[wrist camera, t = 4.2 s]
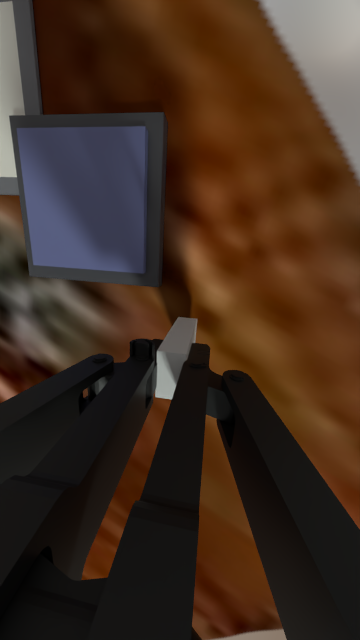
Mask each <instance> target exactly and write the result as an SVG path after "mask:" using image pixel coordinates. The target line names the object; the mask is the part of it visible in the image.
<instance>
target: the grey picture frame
mask: <svg viewBox="0 0 360 640" xmlns="http://www.w3.org/2000/svg"><path fill="white" fill-rule="evenodd" d="M12 115H43V110H42V100H41V89H40V78H39V68H38V57H37V46H36V36H35V25H34V15H33V4H32V0H0V195H19V189H18V181H17V174H16V166H15V158H14V150H13V143H12V135H11V127H10V120H9V116H12Z"/></svg>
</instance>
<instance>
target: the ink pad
mask: <svg viewBox="0 0 360 640" xmlns="http://www.w3.org/2000/svg"><path fill="white" fill-rule="evenodd" d="M9 120H10V127H11V135H12V143H13V150H14V158H15V166H16V174H17V181H18V189H19V197H20V204H21V212H22V220H23V227H24V235H25V243H26V250H27V258H28V266H29V274H30V276H34V277H45V278H57V279H69V280H80V281H92V282H104V283H116V284H127V285H139V286H151V287H159V286H161V285H162V264H163V237H164V211H165V184H166V157H167V131H168V122H167V120H166V117H165V114H164V112H150V113H104V114H58V115H12V116H9Z"/></svg>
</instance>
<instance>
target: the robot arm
mask: <svg viewBox="0 0 360 640" xmlns="http://www.w3.org/2000/svg"><path fill="white" fill-rule="evenodd" d="M196 327H197V319H194V318H184V317H178V318H177V320H176V321H175V323H174V324H173V326H172V328H171V329H170V331H169V332H168V334H167V336H166V337H165V339H164V340H160V339H153V340H149V339H136V340H132V341H131V342H130V357H129V358H128V359H127V361H126V362H122V363H114V358H113V357H112V356H111V355H108V354H97V355H93V356H90V357H88V358H86V359H85V360H83V361H81V362H79V363H77V364H75V365H73V366H71V367H69V368H67V369H65V370H64V371H62V372H60V373H58V374H56V375H54V376H52V377H50V378H48V379H46V380H44V381H43V382H41V383H39V384H37V385H35V386H33V387H31V388H29V389H27V390H25V391H23V392H21V393H20V394H18V395H16V396H14V397H12V398H10V399H8V400H6V401H4V402H2V403H0V640H202V639H201V638H200V637H199V635H198V634H197V633H196V631H195V630H194V629H193V627H192V616H193V601H194V587H195V572H196V557H197V543H198V528H199V501H200V487H201V473H202V459H203V445H204V431H205V418H206V414H207V415H209V416H212V417H214V418H217V426H218V429H219V432H220V435H221V438H222V441H223V444H224V447H225V450H226V453H227V457H228V460H229V463H230V466H231V469H232V472H233V475H234V478H235V481H236V484H237V487H238V490H239V494H240V497H241V500H242V503H243V506H244V509H245V512H246V515H247V518H248V521H249V524H250V527H251V531H252V534H253V537H254V540H255V543H256V546H257V549H258V552H259V555H260V558H261V561H262V564H263V568H264V571H265V574H266V577H267V580H268V583H269V586H270V589H271V592H272V595H273V598H274V601H275V605H276V608H277V611H278V614H279V617H280V620H281V623H282V626H283V629H284V632H285V635H286V638H287V640H360V530H359V528H358V527H357V525H356V524H355V523H354V521H353V520H352V518H351V517H350V516H349V514H348V513H347V511H346V510H345V509H344V507H343V506H342V504H341V503H340V502H339V500H338V499H337V497H336V496H335V495H334V493H333V492H332V490H331V489H330V488H329V486H328V485H327V483H326V482H325V481H324V479H323V478H322V476H321V475H320V474H319V472H318V471H317V469H316V468H315V467H314V465H313V464H312V462H311V461H310V460H309V458H308V457H307V455H306V454H305V453H304V451H303V450H302V448H301V447H300V446H299V444H298V443H297V441H296V440H295V439H294V437H293V436H292V434H291V433H290V432H289V430H288V429H287V427H286V426H285V425H284V423H283V422H282V420H281V419H280V418H279V416H278V415H277V413H276V412H275V411H274V409H273V408H272V406H271V405H270V404H269V402H268V401H267V399H266V398H265V397H264V395H263V394H262V393H261V391H260V390H259V388H258V387H257V386H256V384H255V383H254V381H253V380H252V379H251V377H250V376H249V375H248V374H246V373H244V372H242V371H239V370H228V371H225V372H224V373H223V376H221V375H218V374H216V373H214V372H212V371H211V370H210V368H209V357H210V347H209V346H208V345H207V344H199V343H195V338H196ZM87 387H88V396H87V397H85V398H83V390H84V389H86V388H87ZM155 389H156V394H155V397H159V398H165V399H172V401H171V404H170V407H169V410H168V413H167V416H166V420H165V423H164V426H163V429H162V432H161V435H160V439H159V442H158V445H157V448H156V451H155V455H154V458H153V461H152V464H151V467H150V470H149V474H148V477H147V480H146V483H145V486H144V489H143V493H142V495H141V498H140V500H139V501H135V503H134V505H133V506H132V509H131V511H130V514H129V517H128V520H127V523H126V526H125V528H124V531H123V534H122V537H121V540H120V543H119V546H118V549H117V552H116V555H115V558H114V561H113V564H112V567H111V570H110V573H109V576H108V578H99V579H90V580H81V578H82V573H83V568H84V564H85V561H86V558H87V555H88V553H89V550H90V548H91V546H92V543H93V541H94V539H95V536H96V534H97V532H98V529H99V527H100V525H101V522H102V520H103V518H104V515H105V513H106V511H107V508H108V506H109V504H110V501H111V499H112V497H113V494H114V492H115V490H116V487H117V485H118V483H119V480H120V478H121V476H122V473H123V471H124V469H125V466H126V464H127V462H128V459H129V457H130V455H131V452H132V450H133V448H134V445H135V443H136V441H137V438H138V436H139V434H140V431H141V429H142V427H143V424H144V422H145V420H146V417H147V415H148V413H149V410H150V408H151V406H152V403H153V394H154V391H155Z"/></svg>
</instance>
